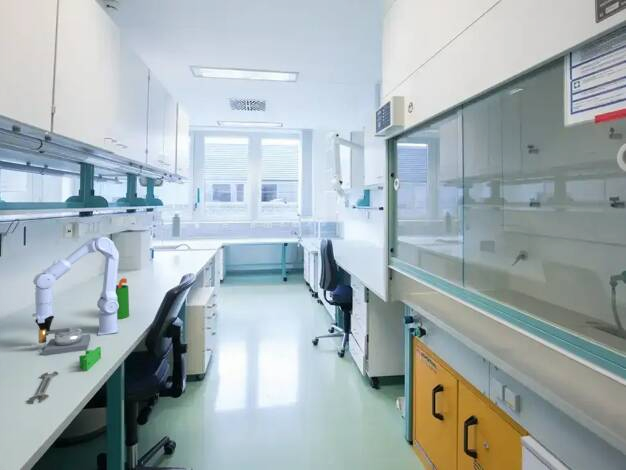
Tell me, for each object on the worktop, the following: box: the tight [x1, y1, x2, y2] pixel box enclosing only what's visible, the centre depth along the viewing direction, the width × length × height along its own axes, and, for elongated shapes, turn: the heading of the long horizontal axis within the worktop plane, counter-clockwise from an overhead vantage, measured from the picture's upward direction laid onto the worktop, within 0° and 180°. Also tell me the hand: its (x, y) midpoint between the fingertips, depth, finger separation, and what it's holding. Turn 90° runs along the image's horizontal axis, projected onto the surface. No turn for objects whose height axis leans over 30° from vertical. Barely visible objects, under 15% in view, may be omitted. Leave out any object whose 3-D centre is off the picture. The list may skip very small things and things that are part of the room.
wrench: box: [28, 370, 59, 405], centre depth 112 cm, size 5×20×1 cm, turn 27°
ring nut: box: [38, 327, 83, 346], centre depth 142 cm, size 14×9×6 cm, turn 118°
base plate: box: [43, 333, 91, 357], centre depth 144 cm, size 13×14×2 cm
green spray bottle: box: [116, 277, 130, 320], centre depth 184 cm, size 10×9×20 cm
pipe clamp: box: [79, 346, 102, 372], centre depth 129 cm, size 11×4×5 cm, turn 9°
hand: (45, 335), depth 145 cm, fingers closed
